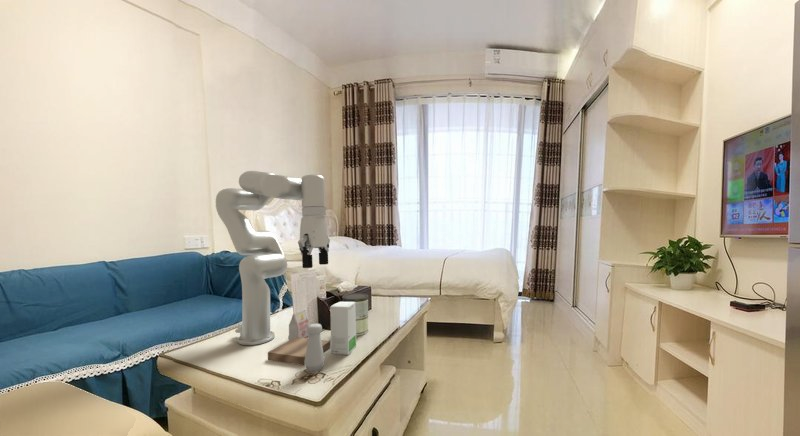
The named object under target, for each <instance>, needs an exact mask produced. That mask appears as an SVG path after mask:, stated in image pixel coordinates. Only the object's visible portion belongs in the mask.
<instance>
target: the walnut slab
mask: <svg viewBox="0 0 800 436" xmlns="http://www.w3.org/2000/svg"><path fill="white" fill-rule="evenodd" d="M308 338H309V337H307V338H300V337H295V338H293V339H291V340H289V339H288V341H285V342H283V343H282V344H280V345H278V346H277V347H275V348H273V349H271V350H270V351H267V361H271V362H277V363H284V364H292V365H298V366H305V365H304V361H305V355H306V349H307V344H308ZM321 342H322V347H323V353H324V354H325V353H326V352H327V351H329V350H331V340H324V339H321ZM305 367H306V366H305Z"/></svg>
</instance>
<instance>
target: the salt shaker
mask: <svg viewBox="0 0 800 436" xmlns="http://www.w3.org/2000/svg"><path fill="white" fill-rule="evenodd" d="M322 331H323V326H322V324H321V323H309V326H308V327H307V333H308V334H309V336H308V337H307V338H308V344H307V349H306V355H305V361H304V365H305V368H306V370H307V372H308V373H318V372H321V370H322V369H323V366H324V364H325V353H323V347H322V342H321V340H322V336H321V333H322ZM304 365H303V366H304Z"/></svg>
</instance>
